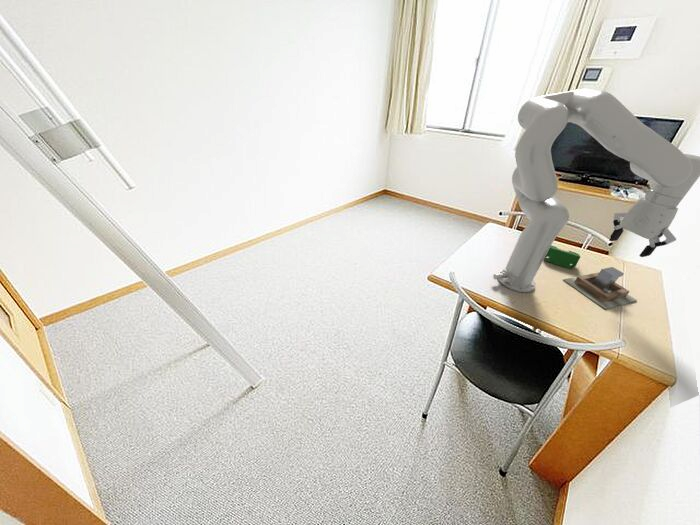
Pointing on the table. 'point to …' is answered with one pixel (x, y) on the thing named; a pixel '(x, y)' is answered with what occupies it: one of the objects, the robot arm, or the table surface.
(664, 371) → the table surface
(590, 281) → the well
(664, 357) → the table surface
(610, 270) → the grey angular block
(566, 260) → the green rectangular block
